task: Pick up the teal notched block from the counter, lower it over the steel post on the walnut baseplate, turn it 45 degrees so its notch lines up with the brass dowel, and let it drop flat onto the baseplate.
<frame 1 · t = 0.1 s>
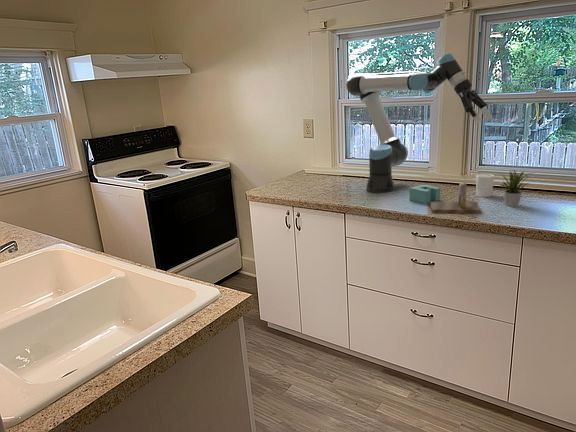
hand: (485, 120, 203), 36 cm above the countertop, tool tilted 35°, fingers open, 13 cm apart
house plant: (514, 206, 193), on the countertop
baseplate: (454, 208, 194), on the countertop
white cup: (483, 195, 212), on the countertop
teal notched block: (424, 199, 211), on the countertop
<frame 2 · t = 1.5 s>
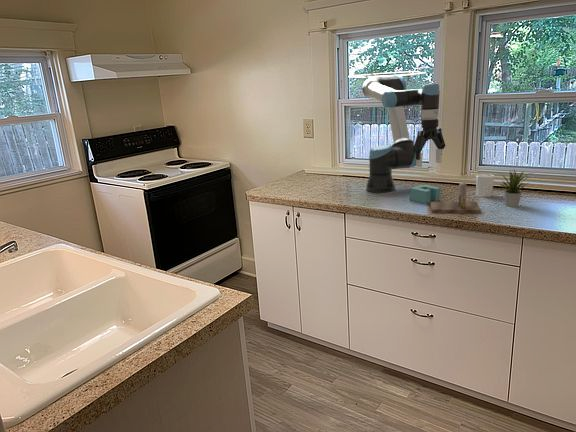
hand: (428, 164, 206), 17 cm above the countertop, tool pointing down, fingers open, 13 cm apart
nothing on the countertop moved.
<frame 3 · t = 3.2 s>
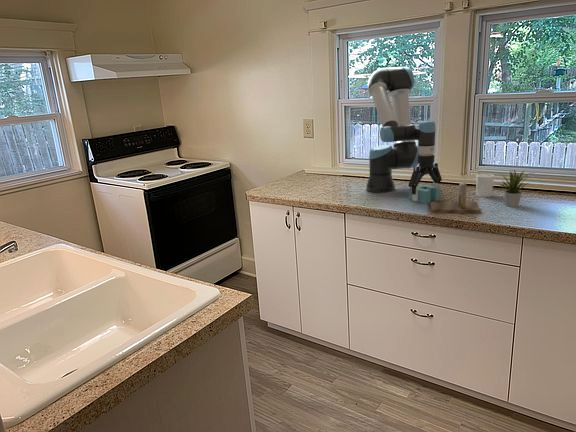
hand: (425, 198, 210), 1 cm above the countertop, tool pointing down, fingers open, 13 cm apart
nothing on the countertop moved.
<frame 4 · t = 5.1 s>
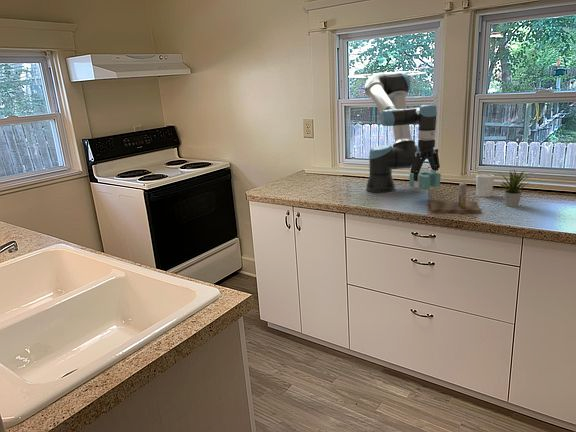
hand: (424, 185, 209), 7 cm above the countertop, tool pointing down, fingers closed on teal notched block, 10 cm apart
teal notched block: (424, 185, 210), point 7 cm above the countertop, touching gripper
everything else where it was.
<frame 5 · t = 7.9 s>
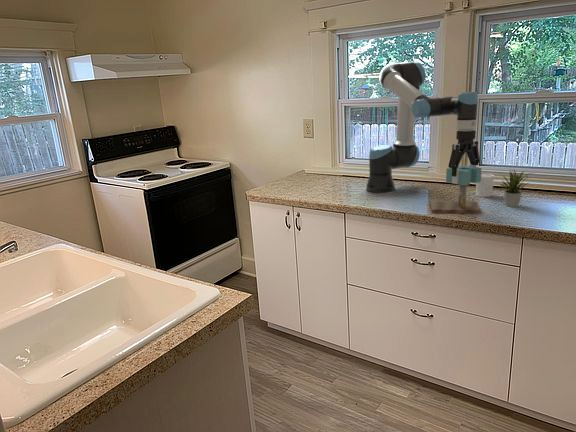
hand: (463, 181, 190), 12 cm above the countertop, tool pointing down, fingers closed on teal notched block, 10 cm apart
teal notched block: (463, 181, 190), point 12 cm above the countertop, touching gripper
everything else where it was.
when the fingers open (4 cm above the countertop, at t = 10.9 s): teal notched block drops 2 cm, resting on baseplate.
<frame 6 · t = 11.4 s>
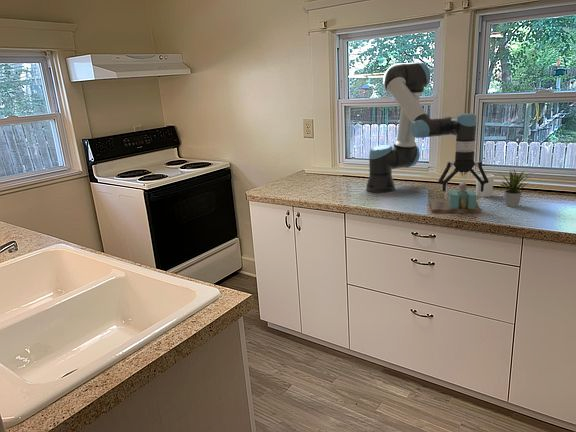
hand: (462, 198, 192), 5 cm above the countertop, tool pointing down, fingers open, 13 cm apart
teal notched block: (461, 205, 193), point 1 cm above the countertop, touching baseplate
everything else where it was.
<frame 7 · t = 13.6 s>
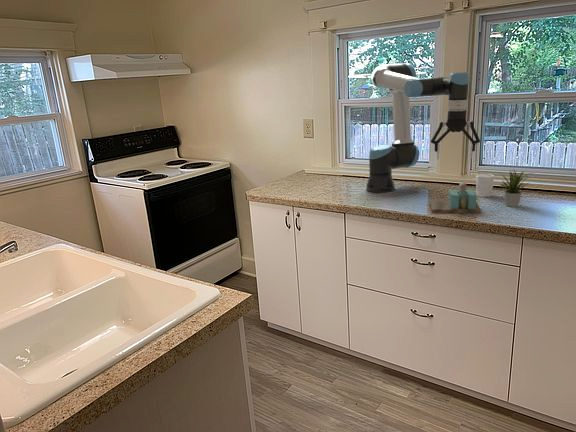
hand: (453, 158, 194), 21 cm above the countertop, tool pointing down, fingers open, 13 cm apart
nothing on the countertop moved.
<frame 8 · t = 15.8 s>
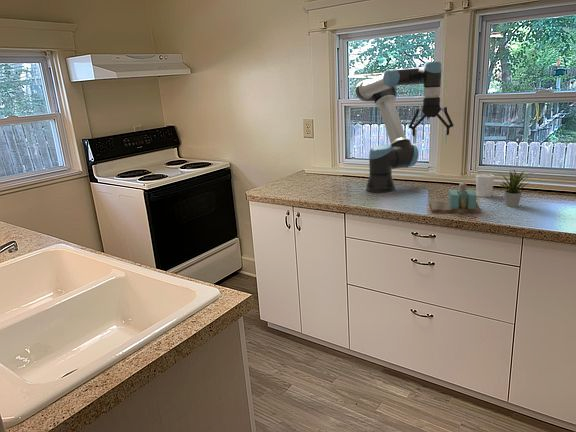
hand: (430, 142, 209), 27 cm above the countertop, tool pointing down, fingers open, 13 cm apart
nothing on the countertop moved.
at the end: teal notched block 0.1 cm from the target spot on the baseplate, point 1.5 cm above the baseplate's base; teal notched block tilted 0°; teal notched block touching baseplate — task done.
